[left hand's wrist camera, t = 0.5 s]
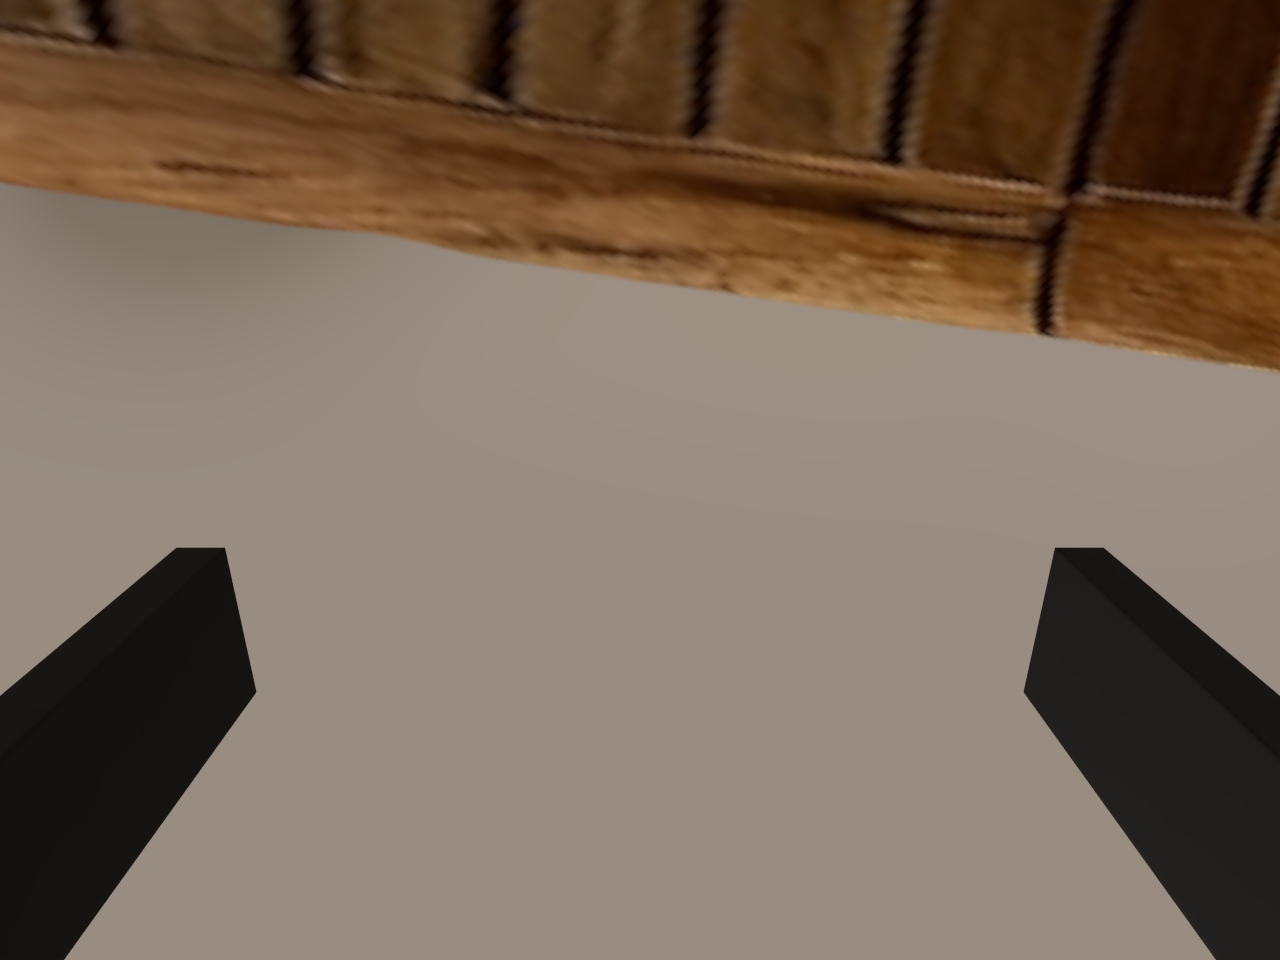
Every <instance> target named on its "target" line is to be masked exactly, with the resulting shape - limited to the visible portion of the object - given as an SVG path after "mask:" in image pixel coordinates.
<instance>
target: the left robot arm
mask: <svg viewBox="0 0 1280 960" xmlns="http://www.w3.org/2000/svg"><path fill="white" fill-rule="evenodd" d="M255 693H256V688H255V684H254V679H253V674H252V670H251V665H250V661H249V656H248V651H247V647H246V642H245V638H244V633H243V628H242V624H241V619H240V615H239V610H238V605H237V601H236V596H235V592H234V587H233V583H232V578H231V573H230V569H229V564H228V560H227V555H226V550H225V548H176V549H174V550H173V551H172V552H171V553H170V554H168V555H167V556H166V557H165V558H164V559H163V560H161V561H160V562H159V563H158V564H157V565H155V566H154V567H153V568H152V569H151V570H149V571H148V572H147V573H146V574H145V575H143V576H142V577H141V578H140V579H139V580H138V581H136V582H135V583H134V584H133V585H132V586H130V587H129V588H128V589H127V590H126V591H125V592H123V593H122V594H121V595H120V596H118V597H117V598H116V599H115V600H114V601H113V602H111V603H110V604H109V605H108V606H107V607H105V608H104V609H103V610H102V611H101V612H99V613H98V614H97V615H96V616H95V617H94V618H92V619H91V620H90V621H89V622H88V623H86V624H85V625H84V626H83V627H82V628H80V629H79V630H78V631H77V632H76V633H75V634H73V635H72V636H71V637H70V638H69V639H67V640H66V641H65V642H64V643H63V644H61V645H60V646H59V647H58V648H57V649H55V650H54V651H53V652H52V653H51V654H49V655H48V656H47V657H46V658H45V659H43V660H42V661H41V662H40V663H39V664H38V665H36V666H35V667H34V668H33V669H32V670H30V671H29V672H28V673H27V674H26V675H24V676H23V677H22V678H21V679H20V680H18V681H17V682H16V683H15V684H14V685H13V686H11V687H10V688H9V689H8V690H7V691H5V692H4V693H3V694H2V695H1V696H0V960H64V959H65V958H66V956H67V955H68V953H69V952H70V951H71V949H72V948H73V947H74V945H75V944H76V942H77V941H78V940H79V938H80V937H81V935H82V934H83V932H84V931H85V930H86V928H87V927H88V926H89V924H90V923H91V921H92V920H93V919H94V917H95V916H96V915H97V913H98V912H99V910H100V909H101V908H102V906H103V905H104V903H105V902H106V901H107V899H108V898H109V896H110V895H111V894H112V892H113V891H114V889H115V888H116V887H117V885H118V884H119V883H120V881H121V880H122V878H123V877H124V876H125V874H126V873H127V871H128V870H129V869H130V867H131V866H132V864H133V863H134V862H135V860H136V859H137V857H138V856H139V855H140V853H141V852H142V851H143V849H144V848H145V846H146V845H147V843H148V842H149V841H150V839H151V838H152V837H153V835H154V834H155V832H156V831H157V829H158V828H159V827H160V825H161V824H162V823H163V821H164V820H165V819H166V817H167V816H168V814H169V813H170V812H171V810H172V809H173V807H174V806H175V805H176V803H177V802H178V800H179V799H180V798H181V796H182V795H183V793H184V792H185V791H186V789H187V788H188V787H189V785H190V784H191V782H192V781H193V779H194V778H195V777H196V775H197V774H198V773H199V771H200V770H201V768H202V767H203V766H204V764H205V763H206V761H207V760H208V759H209V757H210V756H211V755H212V753H213V752H214V750H215V749H216V748H217V746H218V745H219V743H220V742H221V741H222V739H223V738H224V736H225V735H226V734H227V732H228V731H229V729H230V728H231V727H232V725H233V724H234V723H235V721H236V720H237V718H238V717H239V716H240V714H241V713H242V711H243V710H244V709H245V707H246V706H247V704H248V703H249V702H250V700H251V699H252V697H253V696H254V695H255ZM1024 693H1025V695H1026V696H1027V697H1028V699H1029V700H1030V702H1031V703H1032V704H1033V706H1034V707H1035V709H1036V710H1037V711H1038V713H1039V714H1040V716H1041V717H1042V718H1043V720H1044V721H1045V722H1046V724H1047V725H1048V727H1049V728H1050V729H1051V731H1052V732H1053V734H1054V735H1055V736H1056V738H1057V739H1058V740H1059V742H1060V743H1061V745H1062V746H1063V748H1064V749H1065V750H1066V752H1067V753H1068V755H1069V756H1070V757H1071V759H1072V760H1073V761H1074V763H1075V764H1076V766H1077V767H1078V768H1079V770H1080V771H1081V773H1082V774H1083V775H1084V777H1085V778H1086V780H1087V781H1088V782H1089V784H1090V785H1091V786H1092V788H1093V789H1094V791H1095V792H1096V793H1097V795H1098V796H1099V798H1100V799H1101V800H1102V802H1103V803H1104V805H1105V806H1106V807H1107V809H1108V810H1109V812H1110V813H1111V814H1112V816H1113V817H1114V818H1115V820H1116V821H1117V823H1118V824H1119V825H1120V827H1121V828H1122V830H1123V831H1124V832H1125V834H1126V835H1127V837H1128V838H1129V839H1130V841H1131V842H1132V844H1133V845H1134V846H1135V848H1136V849H1137V851H1138V852H1139V853H1140V855H1141V856H1142V857H1143V859H1144V860H1145V862H1146V863H1147V864H1148V866H1149V867H1150V869H1151V870H1152V871H1153V873H1154V874H1155V875H1156V877H1157V878H1158V880H1159V881H1160V883H1161V884H1162V885H1163V887H1164V888H1165V889H1166V891H1167V892H1168V894H1169V895H1170V896H1171V898H1172V899H1173V901H1174V902H1175V903H1176V905H1177V906H1178V908H1179V909H1180V910H1181V912H1182V913H1183V914H1184V916H1185V917H1186V919H1187V920H1188V921H1189V923H1190V924H1191V926H1192V927H1193V928H1194V930H1195V931H1196V932H1197V934H1198V935H1199V937H1200V938H1201V940H1202V941H1203V942H1204V944H1205V945H1206V946H1207V948H1208V949H1209V951H1210V952H1211V953H1212V955H1213V956H1214V958H1215V959H1216V960H1280V696H1279V695H1278V694H1277V693H1276V692H1275V691H1273V690H1272V689H1271V688H1270V687H1269V686H1267V685H1266V684H1265V683H1264V682H1263V681H1262V680H1260V679H1259V678H1258V677H1257V676H1256V675H1254V674H1253V673H1252V672H1251V671H1250V670H1248V669H1247V668H1246V667H1245V666H1244V665H1242V664H1241V663H1240V662H1239V661H1238V660H1237V659H1235V658H1234V657H1233V656H1232V655H1231V654H1229V653H1228V652H1227V651H1226V650H1225V649H1223V648H1222V647H1221V646H1220V645H1219V644H1217V643H1216V642H1215V641H1214V640H1213V639H1211V638H1210V637H1209V636H1208V635H1207V634H1206V633H1204V632H1203V631H1202V630H1201V629H1200V628H1198V627H1197V626H1196V625H1195V624H1194V623H1192V622H1191V621H1190V620H1189V619H1188V618H1187V617H1185V616H1184V615H1183V614H1182V613H1181V612H1179V611H1178V610H1177V609H1176V608H1175V607H1173V606H1172V605H1171V604H1170V603H1169V602H1167V601H1166V600H1165V599H1164V598H1163V597H1161V596H1160V595H1159V594H1158V593H1157V592H1156V591H1154V590H1153V589H1152V588H1151V587H1150V586H1148V585H1147V584H1146V583H1145V582H1144V581H1142V580H1141V579H1140V578H1139V577H1138V576H1137V575H1135V574H1134V573H1133V572H1132V571H1131V570H1129V569H1128V568H1127V567H1126V566H1125V565H1123V564H1122V563H1121V562H1120V561H1119V560H1117V559H1116V558H1115V557H1114V556H1113V555H1112V554H1110V553H1109V552H1108V551H1107V550H1106V549H1104V548H1055V550H1054V555H1053V560H1052V564H1051V569H1050V573H1049V578H1048V583H1047V587H1046V592H1045V596H1044V601H1043V605H1042V610H1041V615H1040V619H1039V624H1038V628H1037V633H1036V638H1035V642H1034V647H1033V651H1032V656H1031V661H1030V665H1029V670H1028V674H1027V679H1026V683H1025V688H1024Z"/></svg>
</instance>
